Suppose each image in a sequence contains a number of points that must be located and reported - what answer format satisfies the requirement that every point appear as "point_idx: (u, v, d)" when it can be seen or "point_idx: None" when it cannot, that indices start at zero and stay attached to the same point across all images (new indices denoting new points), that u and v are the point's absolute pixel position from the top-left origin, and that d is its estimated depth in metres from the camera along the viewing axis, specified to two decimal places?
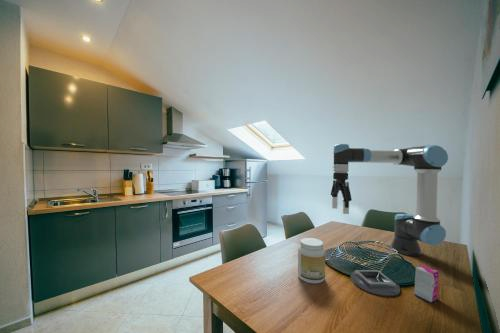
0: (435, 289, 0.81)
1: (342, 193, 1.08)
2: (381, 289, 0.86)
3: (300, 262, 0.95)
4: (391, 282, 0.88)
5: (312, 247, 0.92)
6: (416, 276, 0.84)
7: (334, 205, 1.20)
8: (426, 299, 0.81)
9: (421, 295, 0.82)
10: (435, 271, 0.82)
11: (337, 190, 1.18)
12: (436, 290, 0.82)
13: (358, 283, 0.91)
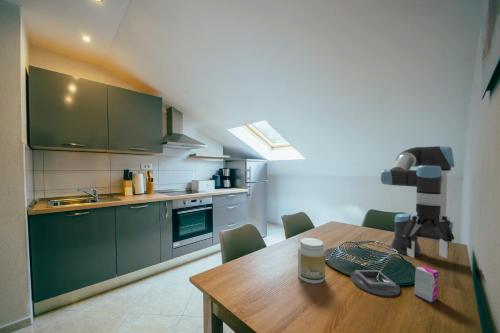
0: (435, 289, 0.81)
1: None
2: (381, 289, 0.86)
3: (300, 262, 0.95)
4: (391, 282, 0.88)
5: (312, 247, 0.92)
6: (416, 276, 0.84)
7: (441, 252, 0.84)
8: (426, 299, 0.81)
9: (421, 295, 0.82)
10: (435, 271, 0.82)
11: (437, 229, 0.83)
12: (436, 290, 0.82)
13: (358, 283, 0.91)
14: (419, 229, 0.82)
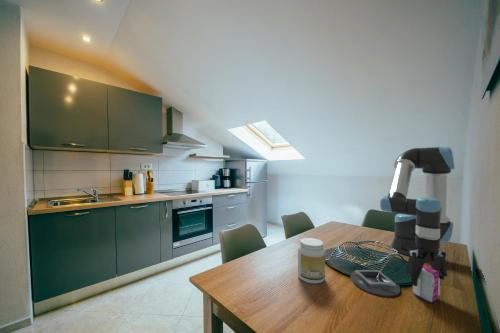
0: (435, 289, 0.81)
1: None
2: (381, 289, 0.86)
3: (300, 262, 0.95)
4: (391, 282, 0.88)
5: (312, 247, 0.92)
6: None
7: None
8: (426, 299, 0.81)
9: (421, 295, 0.82)
10: (435, 271, 0.82)
11: (433, 264, 0.83)
12: (436, 290, 0.82)
13: (358, 283, 0.91)
14: (421, 265, 0.82)
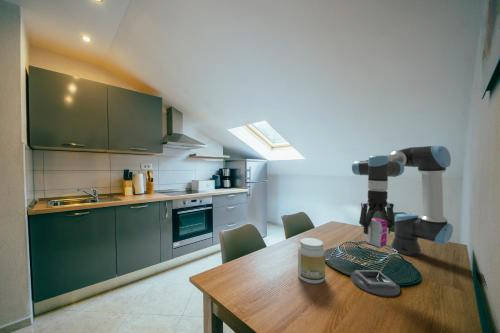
0: (383, 236, 0.90)
1: None
2: (381, 289, 0.86)
3: (300, 262, 0.95)
4: (391, 282, 0.88)
5: (312, 247, 0.92)
6: None
7: None
8: (375, 245, 0.90)
9: (371, 242, 0.91)
10: (383, 220, 0.91)
11: (382, 214, 0.92)
12: (385, 237, 0.91)
13: (358, 283, 0.91)
14: (371, 214, 0.91)
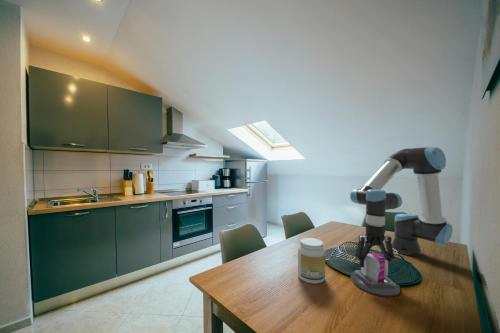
0: (380, 273, 0.90)
1: None
2: (381, 289, 0.86)
3: (300, 262, 0.95)
4: (391, 282, 0.88)
5: (312, 247, 0.92)
6: None
7: None
8: None
9: (369, 278, 0.92)
10: (381, 257, 0.91)
11: (381, 248, 0.93)
12: (382, 274, 0.91)
13: (358, 283, 0.91)
14: (368, 248, 0.91)
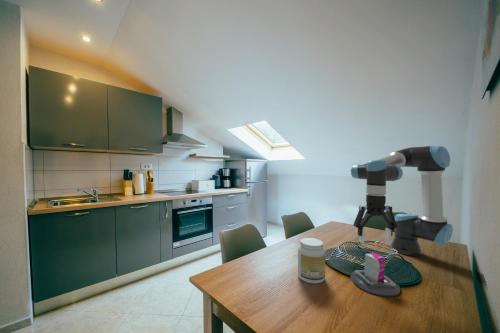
0: (380, 273, 0.90)
1: None
2: (381, 289, 0.86)
3: (300, 262, 0.95)
4: (391, 282, 0.88)
5: (312, 247, 0.92)
6: (365, 262, 0.94)
7: (386, 239, 0.93)
8: None
9: (369, 279, 0.92)
10: (381, 257, 0.91)
11: (383, 218, 0.93)
12: (382, 274, 0.91)
13: (358, 283, 0.91)
14: (368, 218, 0.91)
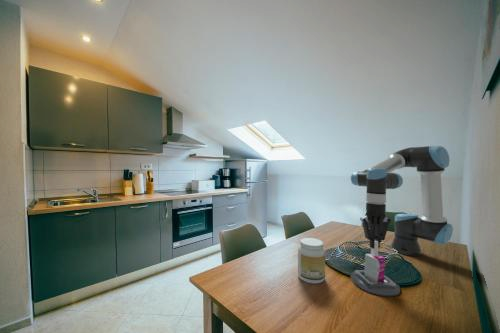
0: (380, 273, 0.90)
1: None
2: (381, 289, 0.86)
3: (300, 262, 0.95)
4: (391, 282, 0.88)
5: (312, 247, 0.92)
6: (365, 262, 0.94)
7: None
8: None
9: (369, 279, 0.92)
10: (381, 257, 0.91)
11: (376, 227, 0.93)
12: (382, 274, 0.91)
13: (358, 283, 0.91)
14: (373, 228, 0.91)
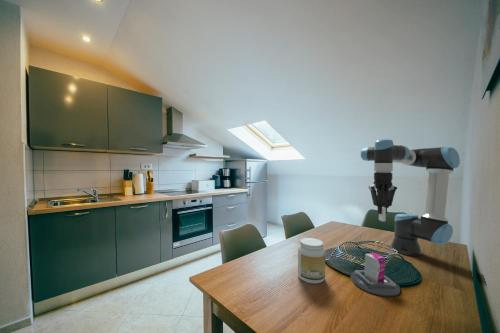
0: (380, 273, 0.90)
1: None
2: (381, 289, 0.86)
3: (300, 262, 0.95)
4: (391, 282, 0.88)
5: (312, 247, 0.92)
6: (365, 262, 0.94)
7: None
8: None
9: (369, 279, 0.92)
10: (381, 257, 0.91)
11: (384, 195, 1.00)
12: (382, 274, 0.91)
13: (358, 283, 0.91)
14: (381, 195, 0.99)
